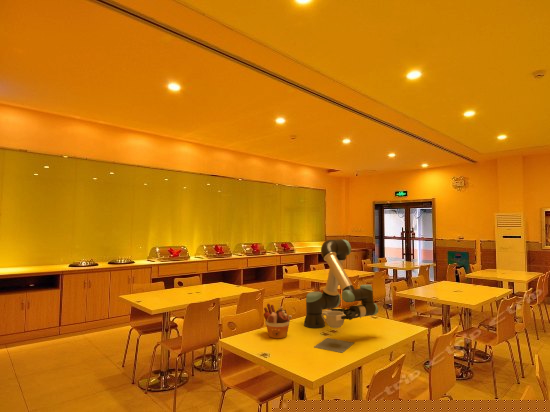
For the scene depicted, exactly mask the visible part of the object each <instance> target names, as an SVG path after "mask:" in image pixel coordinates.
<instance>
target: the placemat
mask: <svg viewBox="0 0 550 412" xmlns="http://www.w3.org/2000/svg"><path fill="white" fill-rule="evenodd" d="M354 344H355V342H353V341H348V340H342V339H336V338H331V337H327V338H324V339H323V340H322V341H320V342H319V343H317V344H316V345H314V346H313V348H314V349H315V348H316V349H321V350H324V351H325V350H326V351H331V352H335V353H340V354H343V353H345V351H347V350H348V349H349V348H350V347H351V346H353V345H354Z"/></svg>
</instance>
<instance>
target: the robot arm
mask: <svg viewBox="0 0 550 412" xmlns="http://www.w3.org/2000/svg"><path fill="white" fill-rule="evenodd" d="M351 252H352V246H351V243H350V242H349V241H348V240H346V239H343V238H341V239H326V240H325V241H324V242H323V243H322V244H321V248H320V254H321V257H322V258H323V260H324V262H326V264H327V265H328V266H329V269H328V274H327V279H326V283H325V284H326V285H325V287H324V288H322V292H321V291H310V292H308V293H306V296H305V303H306V304H305V306H306V307H305V308H306V309H305V311H306V313H305V316H304V321H303V326H304V327H306V328H309V329H321V328H324V327H325V326H326V321H325V320H324V319H323V318H322V313H323V312H326V313H327V312H329V311H340V312H343V313H344V315H337V316H336V321H338V320H344V321H345V320H349V321H351V320H353V319H357V318H360V319H362V318H363V317H369V316H370V317H372V316H375V315H377V314H378V313H379V307H378V304H377V303H375V302H374V291H373V286H372V285H371V284H360V285H359V286H360V288H355V287H354V285H353V284H352V281H351V279H350V278H349V277H348V275H347V273H346V271H345V270H344V267H343V263H344V261H346V260H347V256H349V255H351ZM339 287H340V288H341V290H342V293H341V295H340V293H339V291H338V289H339ZM341 299H342V300H343V301H344V302H345V303H353V302H354V303H355V302H360V301H361V304H356V305H354V304H353V305H350V306H349V307H348V308H346V307H345V308H344V307H343V308H342V307H341V308H338V307H339V306H340V304H341V302H342V301H341ZM323 316H324V317H325V316H326V315H325V314H323Z"/></svg>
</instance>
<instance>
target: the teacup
mask: <svg viewBox="0 0 550 412" xmlns="http://www.w3.org/2000/svg"><path fill="white" fill-rule="evenodd" d="M323 314H325V315H324V316H323ZM337 315H344V313H343V312H340V311H329V312H327V313H326V312H323V313H322V318H323V319H324V321H325V323H326V324H327V325H328V326H329V327H330V328H333V329H334V328H335V329H336V328H337V329H338V328H341V327H342V326H343V325H344V323H345V319H344V320H338V321H336V316H337Z"/></svg>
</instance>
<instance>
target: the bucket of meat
mask: <svg viewBox="0 0 550 412" xmlns="http://www.w3.org/2000/svg"><path fill="white" fill-rule="evenodd" d="M283 308H284V307H283V306H280V307H278V308H277V309H278V310H276V309H275V306H274V304H270V303H267V304H266V307H264V308H263V310H264V313H263V318H264V319H265V321H264V322H265V324H266V325H265V326H266V329H267V334H268V336H269V337H270V338H271V339H275V340H276V339H277V340H279V339H284V338H286V337H287V335H288V332H289V328H290V327H289V326H290V322H291V319H292V318H293V316H292V315H291V314H289V315H288V313H287V310H286V309H283Z"/></svg>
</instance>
